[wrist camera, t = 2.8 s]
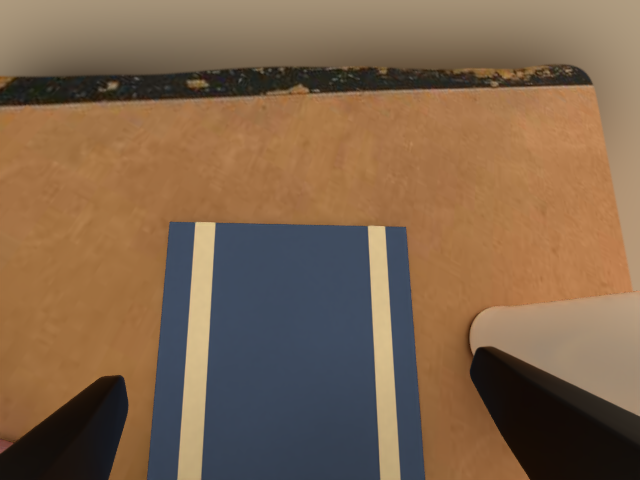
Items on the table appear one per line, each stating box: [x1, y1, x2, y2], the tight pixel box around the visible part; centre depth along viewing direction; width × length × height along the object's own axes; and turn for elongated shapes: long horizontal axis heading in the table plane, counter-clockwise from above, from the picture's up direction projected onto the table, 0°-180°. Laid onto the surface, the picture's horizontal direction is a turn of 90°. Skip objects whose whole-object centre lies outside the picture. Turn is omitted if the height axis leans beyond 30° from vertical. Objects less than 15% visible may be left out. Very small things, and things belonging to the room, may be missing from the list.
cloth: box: [147, 222, 425, 480], centre depth 22 cm, size 18×18×1 cm
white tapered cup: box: [469, 291, 640, 416], centre depth 17 cm, size 7×7×15 cm
